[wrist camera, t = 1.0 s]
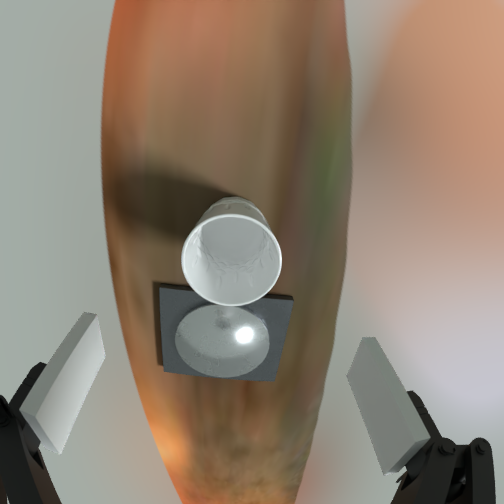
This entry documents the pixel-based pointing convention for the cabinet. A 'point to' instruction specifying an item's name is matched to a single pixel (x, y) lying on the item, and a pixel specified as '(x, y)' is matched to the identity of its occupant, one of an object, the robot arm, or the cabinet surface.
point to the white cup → (231, 254)
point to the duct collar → (222, 335)
